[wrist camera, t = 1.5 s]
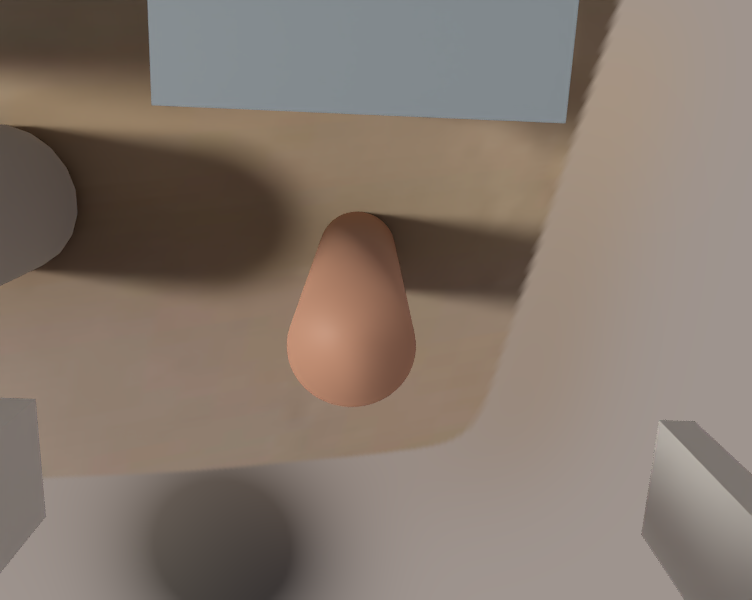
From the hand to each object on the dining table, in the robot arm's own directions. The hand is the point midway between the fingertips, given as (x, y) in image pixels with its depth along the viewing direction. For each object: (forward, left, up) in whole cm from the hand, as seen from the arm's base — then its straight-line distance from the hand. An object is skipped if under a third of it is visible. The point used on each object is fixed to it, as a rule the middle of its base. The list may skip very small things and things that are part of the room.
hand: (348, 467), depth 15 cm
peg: (0, 0, -23) cm, 23 cm away
